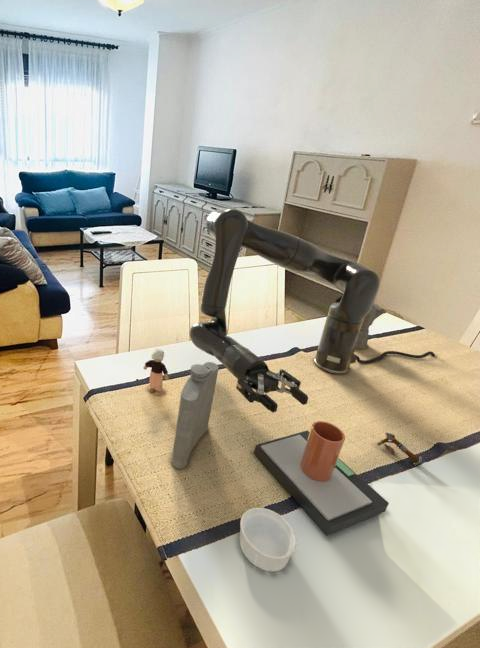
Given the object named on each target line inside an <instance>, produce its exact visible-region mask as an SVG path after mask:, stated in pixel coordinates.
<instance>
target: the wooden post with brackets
mask: <svg viewBox="0 0 480 648" xmlns="http://www.w3.org/2000/svg"><path fill="white" fill-rule="evenodd" d="M384 434H385V435H386V437H385V438H383V439H381V440H379V441H378V442H377V443H376V445H377V446H384V447H385V450H386V451H388V452H389V453H390V454H393V455H394V454H395V453H396V452H395V448H392V446H391V445H390V444H394V445H395V447H396V448H398V450H400V452H402V453H404V454H405V455H406V456H407V457H408V458H409V459H410V460H411V461H412V462H413V465H414V467H416V466H418V465H419V464H421V463H422V461H423V457H422V456H418V455H416V454H415V453H413V452H411V451H410V450H409V449H408V448H407V447H406V446H405V445H404V444H403V443H402V442H400V441H399V440H398V439H397V438H396V435H395V434H392V433H391V432H388V431H386V432H385V433H384ZM387 443H388V444H389V443H390V444H389V445H388V444H387Z"/></svg>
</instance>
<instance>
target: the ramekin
mask: <svg viewBox="0 0 480 648" xmlns="http://www.w3.org/2000/svg"><path fill="white" fill-rule="evenodd" d="M239 525H240V526H239V528H240V530H239V545H240V548H241V551H242V553H243V554H244V556H245V557H246V558H247V560H248V561H249V562H250V563H251V564H253V565H254V566H255V567H257V568H258V569H260V570H263V571H267V572H272V573H273V572H278V571H281V570H282V569H284V568H285V567H286V566H287V564H288V562H289V561H290V559H291V557H292V555H293V554H294V553H295V551H296V549H297V536H296V533H295V530H294V529H293V527H292V526H291V524H290V523H289V522H288V521H287V520H286V519H285V517H283V516H282V515H280V514H279V513H277V512H276V511H274V510H272V509H269V508H265V507H252V508H249V509H247V510H245V512H244V513H243V514H242V516H241V517H240V521H239Z"/></svg>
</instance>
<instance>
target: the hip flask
mask: <svg viewBox="0 0 480 648" xmlns="http://www.w3.org/2000/svg"><path fill="white" fill-rule="evenodd" d="M219 368H220V367H219V365H218V364H217V363H215V362H212V361H208V362H205V363H203V364H192V365H191V366H190V370H189V371H190V376H189V378H188V379H187V380H186V382H185V383H184V386H183V387H182V390H181V393H180V399H179V405H178V414H177V419H176V425H175V432H174V433H175V434H174V441H173V448H172V454H171V461H170V462H171V464H172V466H173V467H174V468H175V469H178V470H179V469H184V468H185V467H187V464H188V461H189V458H190V455H191V453H192V451H193V449H194V447H195V446H196V444H197V442H198V441H199V440H200V439H201V437H202V436H204V435H205V433H206V432H208V429H209V422H210V417H211V412H212V406H213V401H214V397H215V391H216V390H215V389H216V384H217V379H218V373H219Z"/></svg>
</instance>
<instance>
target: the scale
mask: <svg viewBox="0 0 480 648" xmlns="http://www.w3.org/2000/svg"><path fill="white" fill-rule="evenodd" d="M309 433H310V430H304V431H300V432H297V433H293V434H289V435H286V436H282V437H279V438H276V439H272V440H269V441H265V442H260V443H258V444H255V446H254V450H253V455H254V456H255V457H256V458H257V459H258V460H259V461H260V462H261V463H262V465H263V466H264V467H265V468H266V469H267V470H268V471H269V472H270V474H272V476H273V477H274V478H275V479H276V480H277V481H278V482H279V484H280V485H281V486H282V487H283V489H285V490H286V492H287V493H288V495H290V496H291V497H292V498H293V499H294V500H295V502H296V503H297V504H298V505H299V506H300V507H301V508H302V510H303V511H304V512H305V513H306V514H307V515H308V517H309V518H310V519H311V521H313V522H314V523H315V524H316V526H317V527H318V528H319V529H320V530H321V531H322V532H323V533H324V535H325V536H326V537H329V536H330V535H333V534H336V533H337V532H338V533H339V532H340V531H342V530H345V529H347V528H350V527H352V526H355V525H357V524H359V523H361V522H364V521H366V520H369V519H371V518H373V517H376V516H377V515H381V514H383V513H385V512H386V511H387V508H388V506H389V504H390V502H388V501H387V500H386V499H385V497H383V496H382V495H381V494H380V493H378V491H376V490H375V489H374V488H373V487H372V486H371V485H369V484H368V483H367V482H366V481H365V480H364V479H363V478H362V477H360V476H359V475H358V474H357V473H356V472H355V471H353V469H352V468H350V467H349V466H348V465H347V464H346V463H345V462H344V461H342V460H341V459H340V457H339V458H338V460H337V463H336V466H335V469H334V472H333V475H332V477H331V479H330V480H329V481H326V482H319V481H316V480H313V479H311V478H310V477H308V476H307V475H306V474H305V473H304V472H303V471H302V469H301V467H300V463H301V459H302V455H303V452H304V449H305V446H306V442H307V439H308V436H309Z"/></svg>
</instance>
